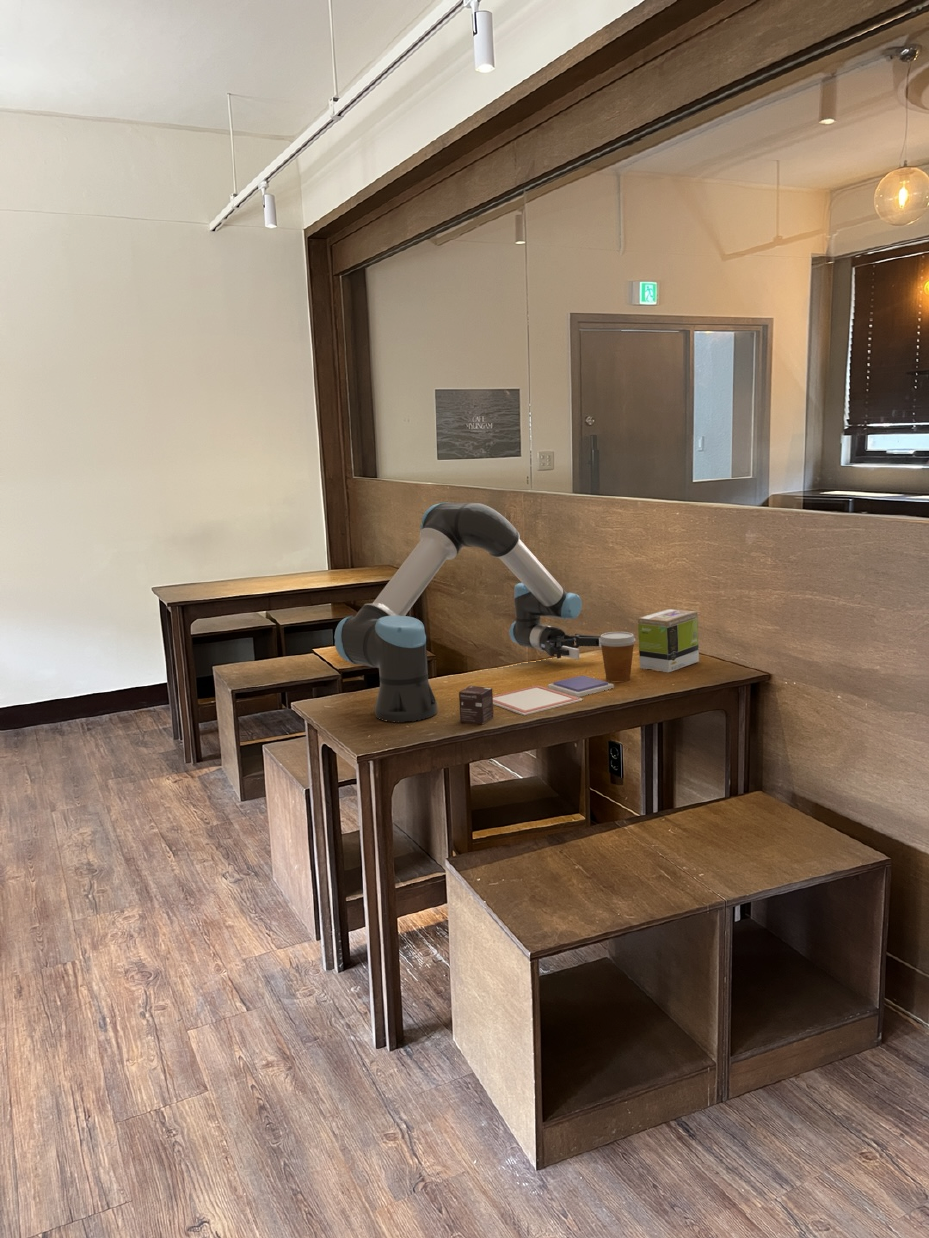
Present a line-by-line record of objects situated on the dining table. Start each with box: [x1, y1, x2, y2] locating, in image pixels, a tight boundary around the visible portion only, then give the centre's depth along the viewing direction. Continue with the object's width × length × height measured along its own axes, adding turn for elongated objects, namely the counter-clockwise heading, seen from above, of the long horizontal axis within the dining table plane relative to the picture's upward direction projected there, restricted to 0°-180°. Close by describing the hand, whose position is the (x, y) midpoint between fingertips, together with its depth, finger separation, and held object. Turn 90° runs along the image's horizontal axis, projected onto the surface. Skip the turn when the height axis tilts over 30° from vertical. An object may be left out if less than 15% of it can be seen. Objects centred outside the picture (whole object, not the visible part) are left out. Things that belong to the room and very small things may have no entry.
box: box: [458, 685, 494, 725], centre depth 206 cm, size 6×6×7 cm
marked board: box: [493, 684, 583, 716], centre depth 220 cm, size 18×18×1 cm
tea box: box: [637, 608, 700, 673], centre depth 245 cm, size 15×10×15 cm, turn 133°
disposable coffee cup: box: [599, 631, 636, 682], centre depth 234 cm, size 10×10×12 cm
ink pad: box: [547, 674, 615, 698], centre depth 228 cm, size 12×12×2 cm
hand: (597, 650), depth 241 cm, fingers open, 13 cm apart
